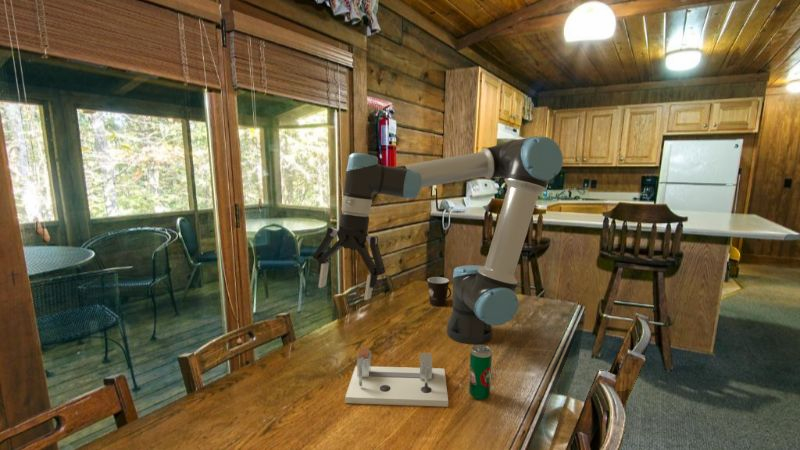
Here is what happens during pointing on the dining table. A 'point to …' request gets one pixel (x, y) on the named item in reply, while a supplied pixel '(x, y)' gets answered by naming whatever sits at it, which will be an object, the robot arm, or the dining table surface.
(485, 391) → the soda can
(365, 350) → the sliding leg
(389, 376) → the bolt plate
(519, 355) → the dining table surface
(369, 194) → the robot arm
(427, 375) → the fixed leg
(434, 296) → the coffee mug
